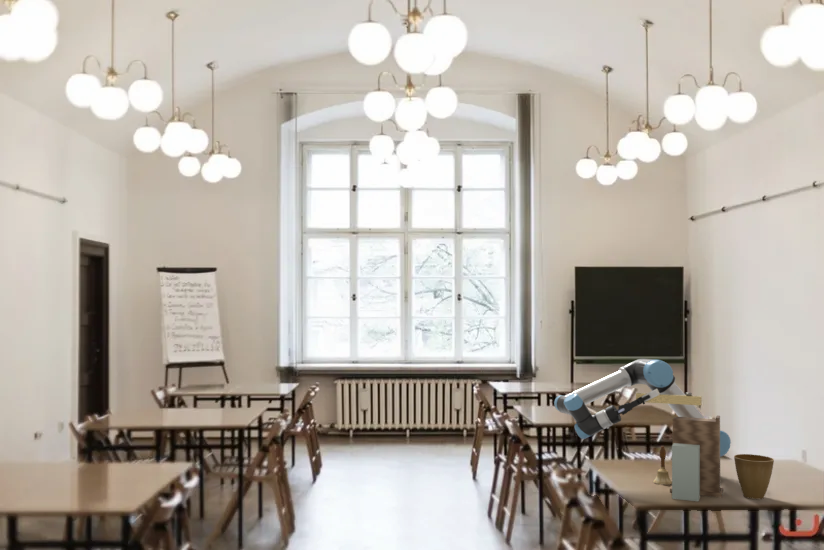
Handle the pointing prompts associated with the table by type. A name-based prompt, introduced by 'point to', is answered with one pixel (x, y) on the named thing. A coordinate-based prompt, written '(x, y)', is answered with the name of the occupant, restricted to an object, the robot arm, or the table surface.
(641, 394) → the brass bar
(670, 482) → the hand bell
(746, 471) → the plant pot
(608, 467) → the table surface
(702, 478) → the walnut stand
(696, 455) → the grey block
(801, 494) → the table surface
